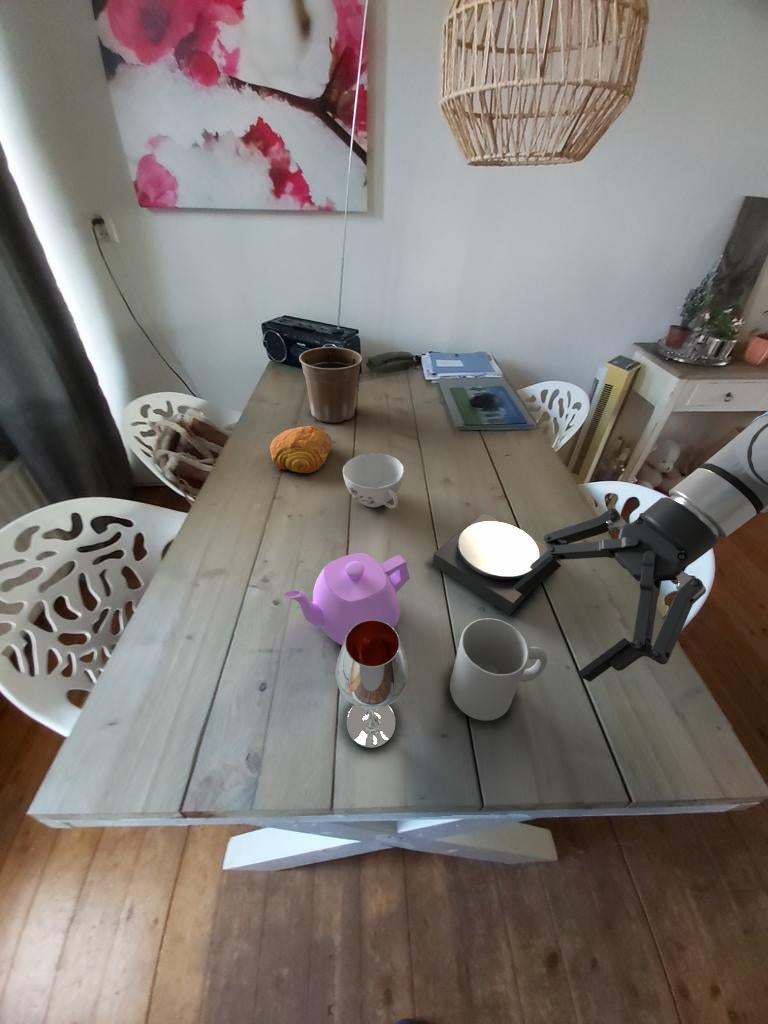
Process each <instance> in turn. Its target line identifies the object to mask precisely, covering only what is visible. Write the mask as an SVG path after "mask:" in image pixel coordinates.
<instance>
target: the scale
mask: <svg viewBox="0 0 768 1024" xmlns="http://www.w3.org/2000/svg"><path fill="white" fill-rule="evenodd" d="M485 521H495V522H501V521H500V520H498V519H496V518H494V517H492V516H491V515H488V514H487V513H484V512H483V513H482V514H480V515H479V516H478V517H477V518H476V519H474V520H473V521H471V523H470V524H468V525H467V526H466V527H464V528H463V529H462V530H461V531H460V532H458V533H457V534H456V535H455V536H454V537H452V538H451V539H450V540H448V541H447V542H446V543H445V544H443V545H442V546H441V547H440V548H438V549H437V550H436V551H435V552H434V553H433V557H432V567H434V568H436V569H438V570H439V571H440V572H442V573H444V574H445V575H447V576H448V577H450V578H451V579H453V580H454V581H456V582H458V583H459V584H461V585H462V586H463V587H465V588H467V589H468V590H469V591H471V592H473V593H475V594H476V595H477V596H479V597H481V598H482V599H484V600H485V601H487V602H488V603H490V604H491V605H493V606H494V607H496V608H497V609H498V610H500V611H502V612H504V613H505V614H507V615H508V616H510V615H511V614H512V613H513V612H514V611H515V610H516V609H517V607H518V606H519V605H520V604H521V603H522V602H523V601H524V600H525V599H526V598H527V596H529V594H530V593H532V591H530V592H529V593H528V594H527V595H526V596H524V595H522V594H521V593H519V592H518V591H516V590H515V588H514V587H513V586H514V585H515V584H517V583H518V582H519V581H520V580H521V579H523V578H524V577H525V576H524V577H522V578H518V579H513V580H501V579H495V578H491V577H488V576H485V575H483V574H480V573H478V572H477V571H475V570H473V569H472V568H471V567H470V566H468V565H467V564H466V563H465V562H464V560H463V559H462V557H461V555H460V553H459V550H458V541H459V537H460V535H461V533H462V532H463V531H464V530H465V529H466V528H467V527H469V526H471V525H473V524H475V523H479V522H485ZM532 539H533V538H532ZM533 540H534V542H535V543H536V545H537V547H538V550H539V557H540V556H542V555H543V554H544V553H545V552H546V551H547V545H546V544H543V543H542V542H539V541H537V540H535V539H533Z"/></svg>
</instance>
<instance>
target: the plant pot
mask: <svg viewBox="0 0 768 1024" xmlns="http://www.w3.org/2000/svg"><path fill="white" fill-rule="evenodd" d="M298 358H299V363H301V366H302V373H303V375H304V377H305V383H306V389H307V395H308V401H309V408H310V414H311V416H312V418H315V419H316V420H317V421H319V422H323V423H327V424H328V423H330V424H334V423H335V424H337V423H342V422H344V421H345V420H347V421H348V420H350V419H352V418H353V416H354V415H355V410H356V409H355V407H356V396H357V386H358V378H359V377H358V376H359V374H360V369H361V363H362V362H363V356H362V354H361V353H359V352H358V351H356V350H353V349H350V348H345V347H337V346H323V347H322V346H321V347H316V348H311V349H308V350H306V351H304V352H302V353H301V354H300V355H299V357H298Z"/></svg>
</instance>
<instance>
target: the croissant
mask: <svg viewBox="0 0 768 1024" xmlns="http://www.w3.org/2000/svg"><path fill="white" fill-rule="evenodd" d="M331 438H332V437H331V436H330V434H329V433H328V432H326V431H324V430H323V429H320V428H318V427H316V426H313V425H305V426H299V427H293V428H290V429H287V430H284V431H282V432H281V433H279V434H278V435H277V436H275V437H274V438H273V439H272V440H271V442H270V446H269V450H270V452H269V453H270V455H271V456H270V457H271V461H272V463H274V465H275V466H276V467H277V468H278V469H282V470H283V471H288V470H289V471H291V472H294V473H301V474H310V473H314V472H316V471H318V470H319V469H320V468H321V467H322V466H323V465H324V464H325V463H326V460H327V458H328V456H329V453H330V452H331V450H332V439H331Z"/></svg>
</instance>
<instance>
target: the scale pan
mask: <svg viewBox="0 0 768 1024" xmlns="http://www.w3.org/2000/svg"><path fill="white" fill-rule="evenodd" d="M466 527H467V526H466ZM466 527H465V528H466ZM465 528H464V529H465ZM534 540H535V539H534ZM534 540H533V538H532V536H530V535H529V534H528V533H526V532H525V531H524V530H523V529H521V528H519V527H517V526H514V525H512V524H509V523H505V522H502V521H500V522H495V521H485V522H479V523H475V524H473V525H471V526H469V527H467V528H466V529H465V530H464V531H463V532H462V533H461V535H460V537H459V541H458V550H459V553H460V555H461V557H462V559H463V560H464V562H465V563H466V564H467V565H468V566H470V567H471V568H472V569H473V570H475V571H477V572H478V573H480V574H483V575H485V576H488V577H491V578H495V579H501V580H513V579H518V578H522V577H524V576H526V575H527V574H528V573H530V572H531V571H532V569H531V568H530V566H531V565H532V563H533V562H535V561H536V560H537V559H538V558H539V550H538V547H537V545H536V543H535V542H534Z"/></svg>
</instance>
